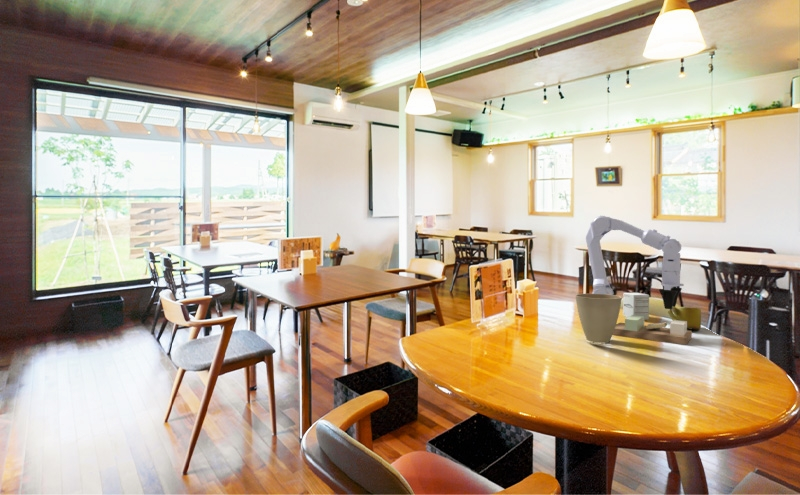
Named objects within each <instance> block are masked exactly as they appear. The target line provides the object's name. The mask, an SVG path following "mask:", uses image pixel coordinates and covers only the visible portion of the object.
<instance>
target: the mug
mask: <svg viewBox="0 0 800 495" xmlns="http://www.w3.org/2000/svg"><path fill="white" fill-rule="evenodd" d="M667 314H668V315H669V317H670V318H671V319H672V321H673V320H679V321H687V330H695V331H696V330H697V331H700V329H701V326H702V309H700V308H699V307H690V306H679V307H676V306H675V307H672V309H667Z"/></svg>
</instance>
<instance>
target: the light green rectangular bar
mask: <svg viewBox="0 0 800 495" xmlns="http://www.w3.org/2000/svg"><path fill="white" fill-rule="evenodd" d="M624 323H625V330H630V331H638V330H640V329H641V328H642V327H644V325H645V320H644V316H640V315H631V316H630V317H628V318H627V317H625V319H624Z"/></svg>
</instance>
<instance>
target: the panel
mask: <svg viewBox="0 0 800 495" xmlns="http://www.w3.org/2000/svg"><path fill="white" fill-rule="evenodd" d="M646 326H647V325H646V324H644V327H642V328H641V329H640V330H638V331H630V330H625V322H617V323H616V326H615V329H614V332H613V335H612V336H618V337H626V338H633V339H639V340H646V341H647V340H648V341H655V342H661V343H668V344H669V343H670V344H677V345H684V346H687V345H688V343H690V341H691V339H692V336H693V335H692V334H693V333H692V332H693V331H692V330H687V333H686V334H685V335H684V336H678V335H670V327H669V328H667V327H661V328H652V329H646Z"/></svg>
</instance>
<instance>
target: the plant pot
mask: <svg viewBox="0 0 800 495" xmlns="http://www.w3.org/2000/svg"><path fill="white" fill-rule="evenodd" d="M622 298H623V297H622V296H621V295H615V294H614V295H609V294H592V293H577V294H575V302H576V308H577V312H578V318H579V321H580V324H581V328H582V331H583V333H584V334H583V335H584V336H585V338H586V340H587V341H588V342H591V343H598V344H606V343H609V342H610V341H611V339H612V338H613V336H614V335H613V332H614V329H615V326H616V324H618V319H619V317H620V310H621V305H622V301H623V299H622Z"/></svg>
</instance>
